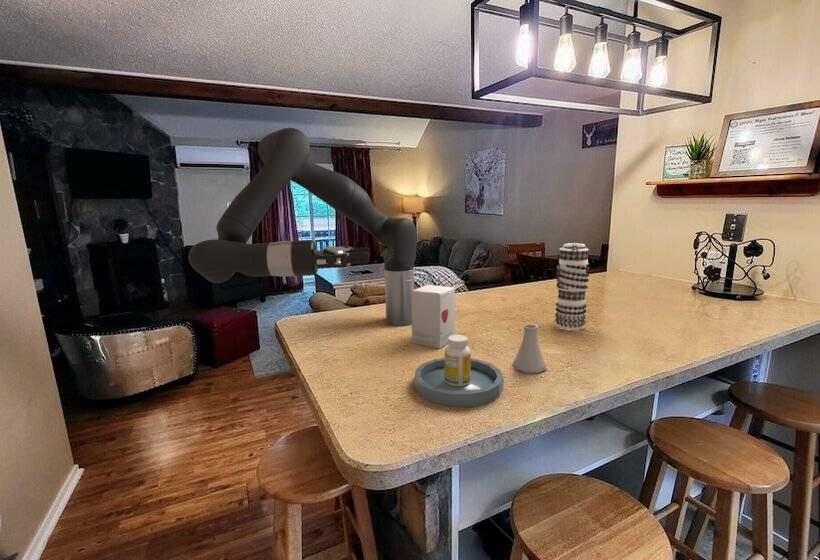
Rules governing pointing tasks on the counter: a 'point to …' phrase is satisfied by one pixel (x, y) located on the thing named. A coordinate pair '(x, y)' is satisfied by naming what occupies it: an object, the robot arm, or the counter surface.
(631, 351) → the counter surface
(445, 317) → the supplement box
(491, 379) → the dish
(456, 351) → the supplement bottle
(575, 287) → the decorative candle
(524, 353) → the flask
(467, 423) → the counter surface
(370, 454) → the counter surface
